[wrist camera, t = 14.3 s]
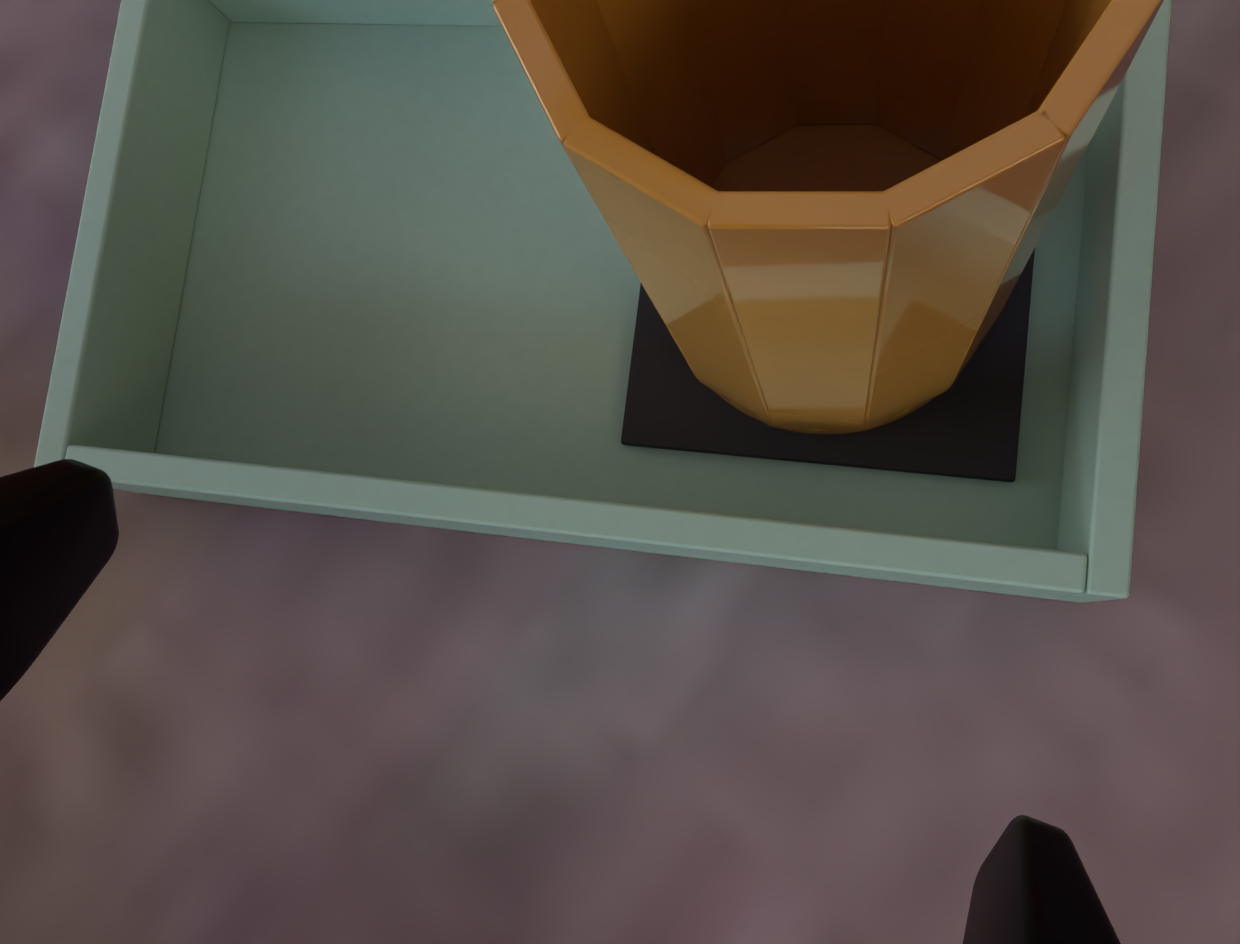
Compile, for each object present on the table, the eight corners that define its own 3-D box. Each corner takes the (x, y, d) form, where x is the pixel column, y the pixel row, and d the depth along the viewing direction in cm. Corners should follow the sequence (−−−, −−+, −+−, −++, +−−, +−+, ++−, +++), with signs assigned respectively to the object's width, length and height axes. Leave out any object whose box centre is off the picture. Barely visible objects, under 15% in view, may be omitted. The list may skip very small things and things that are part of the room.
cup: (992, 442, 22) (1171, 232, 10) (655, 427, 23) (467, 226, 11) (1004, 117, 22) (1182, -428, 11) (678, 121, 24) (526, -358, 12)
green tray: (1129, 17, 23) (1179, -88, 20) (1084, 602, 22) (1130, 599, 18) (221, 7, 28) (134, -80, 24) (135, 492, 26) (30, 473, 23)
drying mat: (1045, 102, 23) (1048, 96, 22) (1012, 482, 22) (1015, 480, 21) (667, 93, 24) (664, 86, 24) (622, 445, 23) (620, 443, 23)
